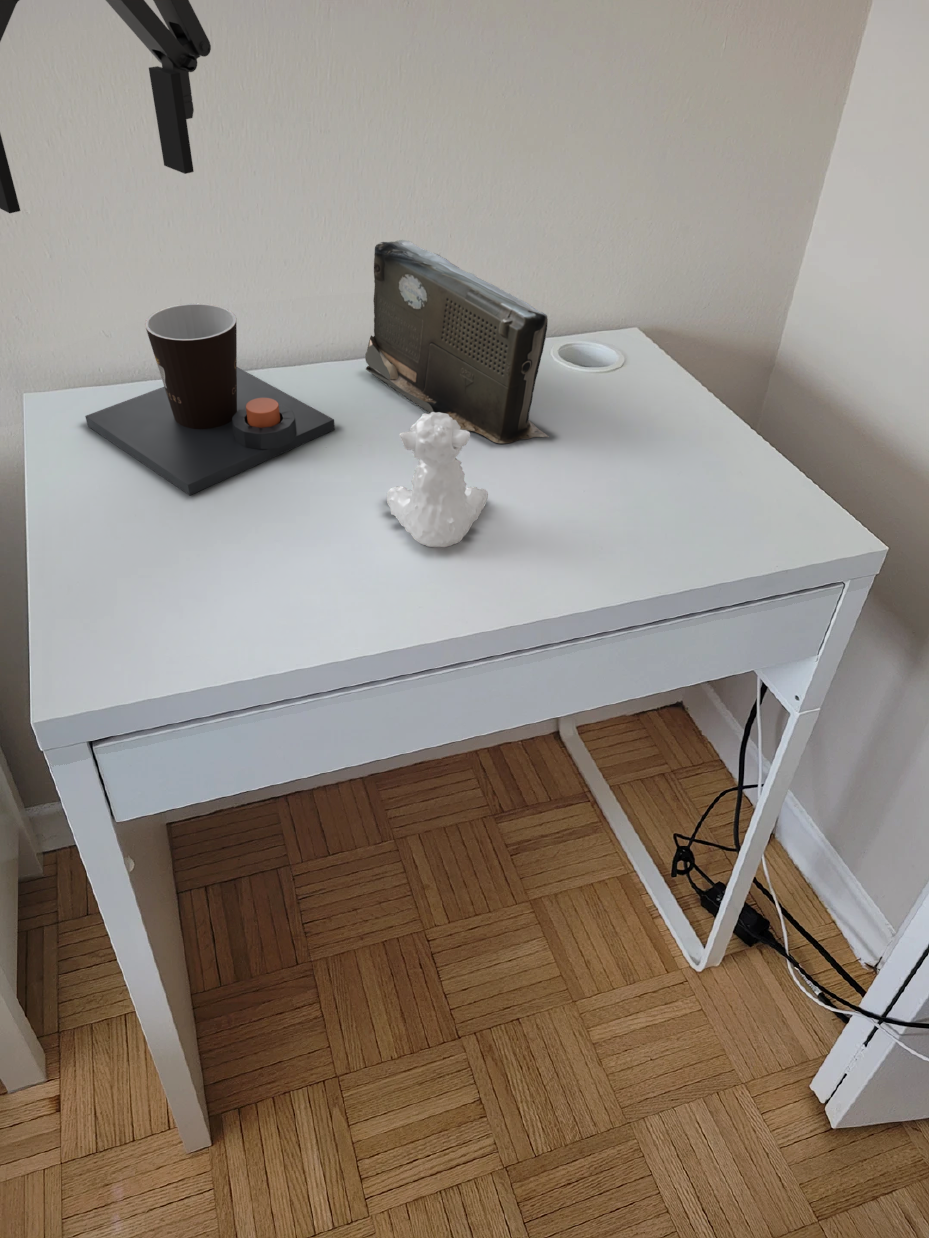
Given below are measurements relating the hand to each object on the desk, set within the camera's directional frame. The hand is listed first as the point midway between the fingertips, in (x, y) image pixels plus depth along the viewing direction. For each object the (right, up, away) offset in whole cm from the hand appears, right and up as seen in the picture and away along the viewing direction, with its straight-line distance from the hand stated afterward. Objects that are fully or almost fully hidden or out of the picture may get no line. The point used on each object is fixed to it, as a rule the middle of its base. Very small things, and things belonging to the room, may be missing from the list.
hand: (97, 187), depth 67 cm
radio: (+25, -6, +38) cm, 46 cm away
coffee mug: (-1, -8, +33) cm, 34 cm away
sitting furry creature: (+24, -22, +20) cm, 38 cm away
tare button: (+6, -11, +28) cm, 30 cm away
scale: (0, -11, +32) cm, 33 cm away
